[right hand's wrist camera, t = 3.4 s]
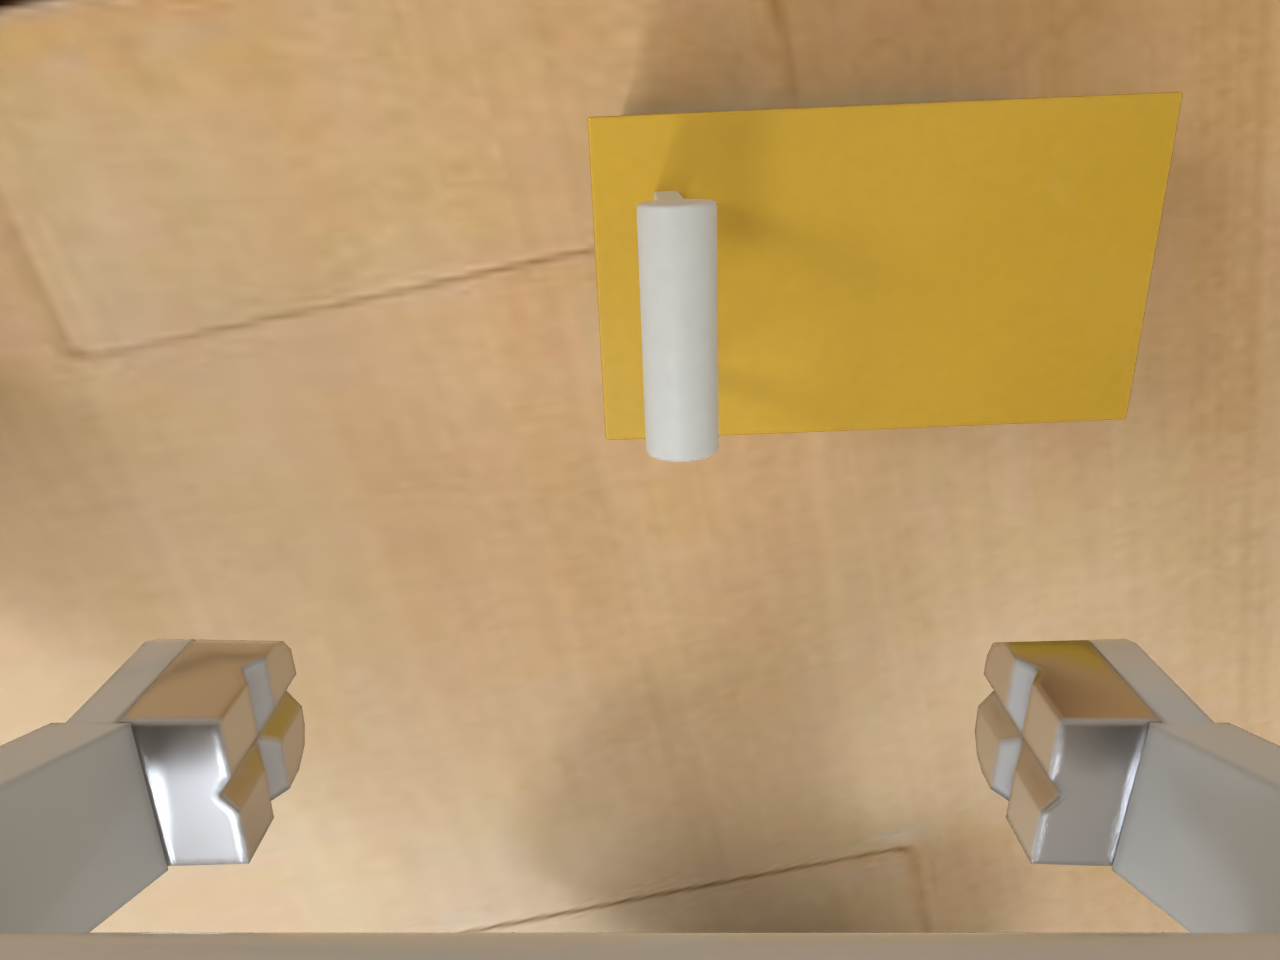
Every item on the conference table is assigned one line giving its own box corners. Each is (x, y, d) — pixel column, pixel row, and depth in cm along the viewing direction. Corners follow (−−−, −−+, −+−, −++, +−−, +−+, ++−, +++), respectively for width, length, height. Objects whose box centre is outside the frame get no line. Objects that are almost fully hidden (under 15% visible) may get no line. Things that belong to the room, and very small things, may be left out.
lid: (606, 429, 29) (597, 540, 21) (589, 117, 25) (570, 110, 17) (1108, 409, 28) (1287, 512, 21) (1160, 93, 25) (1399, 75, 17)
